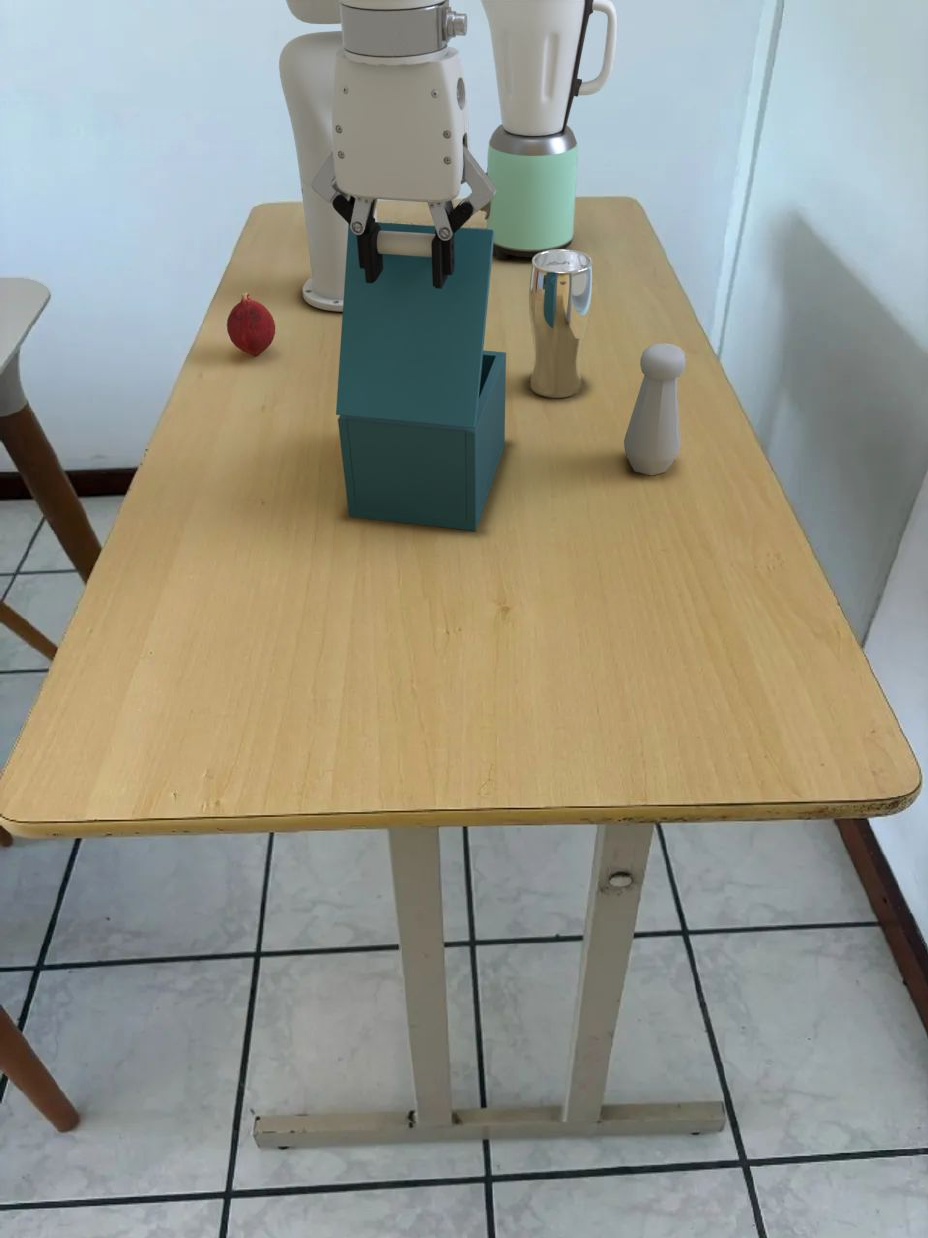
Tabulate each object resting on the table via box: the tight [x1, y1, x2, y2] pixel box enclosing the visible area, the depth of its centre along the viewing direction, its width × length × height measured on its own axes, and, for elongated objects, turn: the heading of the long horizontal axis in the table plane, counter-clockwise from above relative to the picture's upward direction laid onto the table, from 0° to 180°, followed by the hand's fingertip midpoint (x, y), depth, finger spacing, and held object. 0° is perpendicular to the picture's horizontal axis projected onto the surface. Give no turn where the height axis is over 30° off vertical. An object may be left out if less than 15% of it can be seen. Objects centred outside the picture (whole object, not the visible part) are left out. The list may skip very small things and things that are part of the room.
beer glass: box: [528, 248, 594, 399], centre depth 108 cm, size 7×7×15 cm
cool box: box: [337, 349, 507, 532], centre depth 95 cm, size 16×13×11 cm
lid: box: [335, 221, 494, 428], centre depth 82 cm, size 17×13×5 cm
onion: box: [226, 291, 276, 357], centre depth 118 cm, size 6×6×8 cm
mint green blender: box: [479, 0, 619, 260], centre depth 134 cm, size 19×13×35 cm
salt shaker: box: [623, 342, 687, 476], centre depth 96 cm, size 6×6×13 cm
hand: (407, 277), depth 80 cm, fingers closed on lid, 5 cm apart
